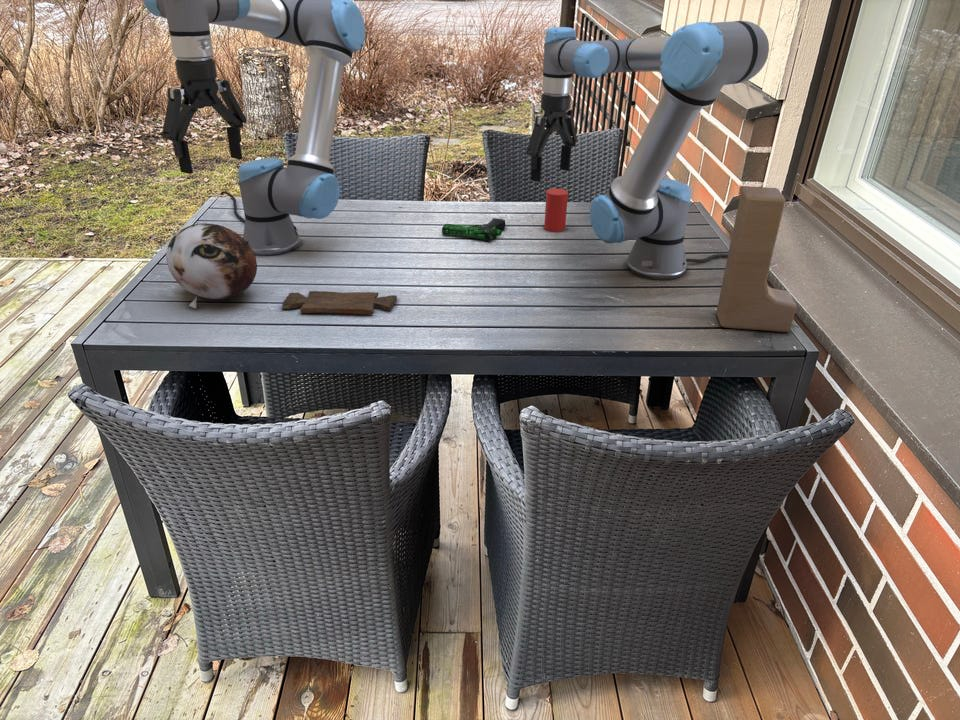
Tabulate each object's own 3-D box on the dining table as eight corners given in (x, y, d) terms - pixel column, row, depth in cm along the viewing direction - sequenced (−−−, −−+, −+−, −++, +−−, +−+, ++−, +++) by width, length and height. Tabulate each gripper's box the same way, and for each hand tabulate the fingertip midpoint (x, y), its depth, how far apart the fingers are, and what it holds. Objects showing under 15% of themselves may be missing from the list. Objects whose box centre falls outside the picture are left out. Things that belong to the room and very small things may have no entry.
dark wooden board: (392, 317, 161) (397, 298, 170) (391, 310, 160) (397, 291, 169) (278, 313, 161) (289, 294, 170) (277, 306, 161) (289, 287, 169)
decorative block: (790, 333, 157) (826, 200, 141) (720, 328, 158) (748, 196, 143) (782, 318, 163) (816, 189, 148) (715, 313, 165) (741, 185, 149)
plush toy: (130, 285, 161) (164, 203, 163) (192, 308, 177) (221, 233, 178) (195, 307, 151) (229, 220, 152) (254, 330, 166) (285, 250, 168)
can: (561, 233, 208) (564, 196, 203) (541, 230, 210) (543, 193, 205) (567, 226, 213) (570, 190, 208) (547, 223, 215) (550, 187, 210)
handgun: (511, 219, 210) (493, 234, 198) (511, 228, 211) (492, 244, 199) (461, 212, 215) (440, 226, 203) (461, 221, 217) (440, 236, 204)
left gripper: (154, 67, 131) (177, 182, 141) (254, 53, 150) (267, 155, 160) (127, 64, 134) (151, 176, 145) (228, 50, 153) (243, 150, 163)
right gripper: (571, 85, 194) (564, 163, 205) (514, 98, 177) (511, 182, 188) (594, 88, 190) (587, 168, 201) (539, 102, 173) (534, 188, 184)
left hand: (212, 165), depth 152 cm, fingers open, 13 cm apart
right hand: (550, 175), depth 195 cm, fingers open, 13 cm apart
